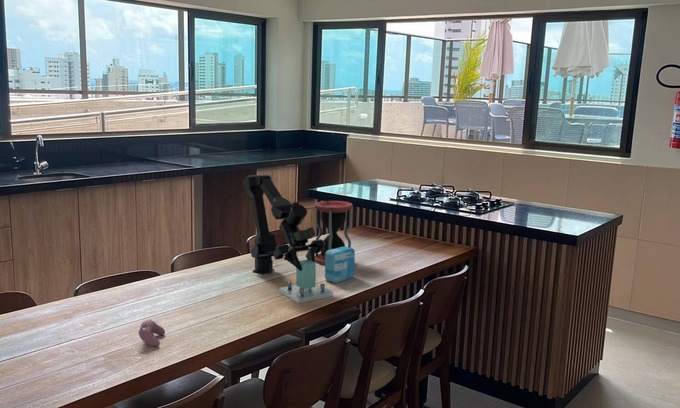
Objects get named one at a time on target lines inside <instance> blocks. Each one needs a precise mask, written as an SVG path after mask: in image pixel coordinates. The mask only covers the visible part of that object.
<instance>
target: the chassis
mask: <svg viewBox="0 0 680 408" xmlns="http://www.w3.org/2000/svg"><path fill="white" fill-rule="evenodd" d="M325 286H326V284H324V283H320V284H318V283H316V282H315V287H313V288H308V289H304V288H300V287H298V286H296V284H294V285H293V282H292V281H287V282H286V286H283V287H279V288H278V290H279V293H280V294H282V295H283V296H285V297H288V298H289V299H291V300H292V301H294V302H296V303H298V304H301V303H305V302H307V303H308V302H311V301H315V300H316V301H317V300H321V299H324V298H325V299H326V298H330V297H333V296H334V291H332V290H329V289H327V288H325Z"/></svg>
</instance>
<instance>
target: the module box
mask: <svg viewBox="0 0 680 408" xmlns="http://www.w3.org/2000/svg"><path fill="white" fill-rule="evenodd" d="M299 262H300V264H301V267H302V271H300V270H299V269H297V268H296V267H295V268H296V269H295V270H296V272H295V276H296V277H295V279H296V281H295V282H296V283H295V285H296V286H298V287H300V288H304V289H308V288H313V287H315V283H316V281H317V279H316V275H317V274H316V271H317V270H316V269H317V268H316V267H317V265H316V264H317V263H316V262H313V261H311V260H309V259H307V258H306V259H301V260H299Z"/></svg>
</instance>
